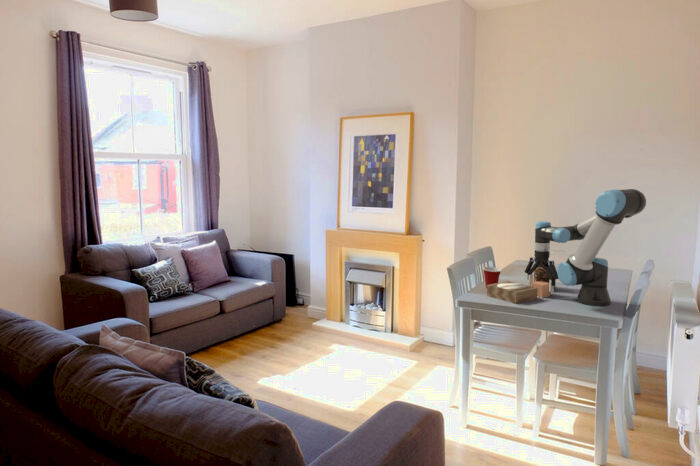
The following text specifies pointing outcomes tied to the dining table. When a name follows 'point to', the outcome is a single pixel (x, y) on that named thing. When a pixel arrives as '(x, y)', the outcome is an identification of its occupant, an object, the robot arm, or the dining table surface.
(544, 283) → the terracotta cube
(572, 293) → the dining table surface
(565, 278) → the robot arm
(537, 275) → the jar
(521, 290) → the block
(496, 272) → the plastic cup
